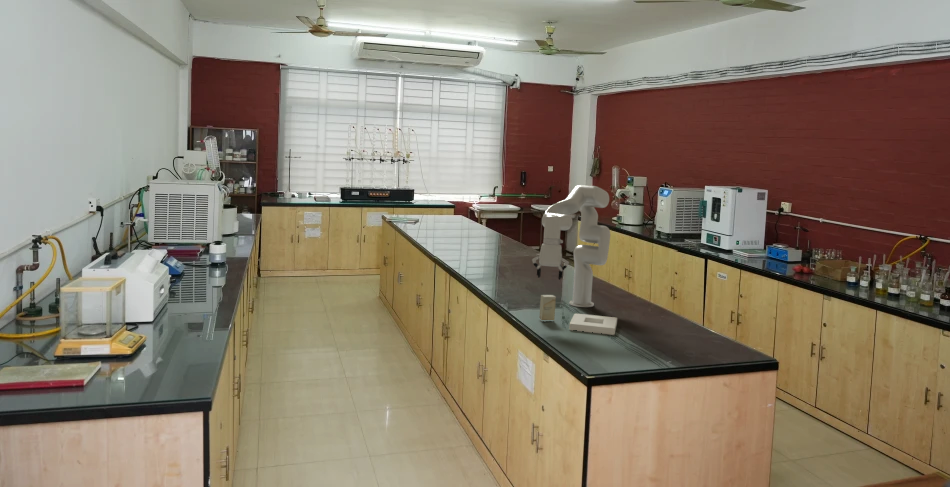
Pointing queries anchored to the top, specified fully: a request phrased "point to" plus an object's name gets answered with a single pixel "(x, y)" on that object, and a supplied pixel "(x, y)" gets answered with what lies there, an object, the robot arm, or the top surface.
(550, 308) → the skincare box
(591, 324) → the box stand
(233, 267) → the top surface
